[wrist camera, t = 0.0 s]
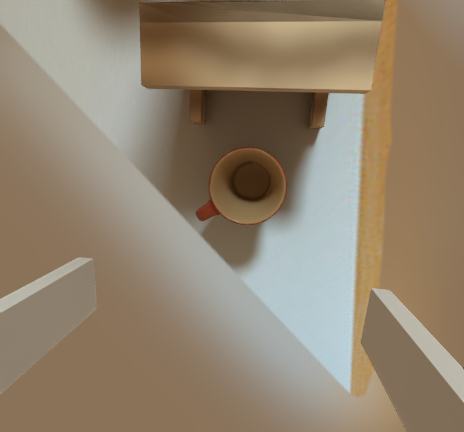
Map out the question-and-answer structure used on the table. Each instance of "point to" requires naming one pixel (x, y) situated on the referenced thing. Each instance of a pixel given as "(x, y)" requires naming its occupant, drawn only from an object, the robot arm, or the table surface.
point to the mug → (245, 187)
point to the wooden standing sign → (261, 48)
